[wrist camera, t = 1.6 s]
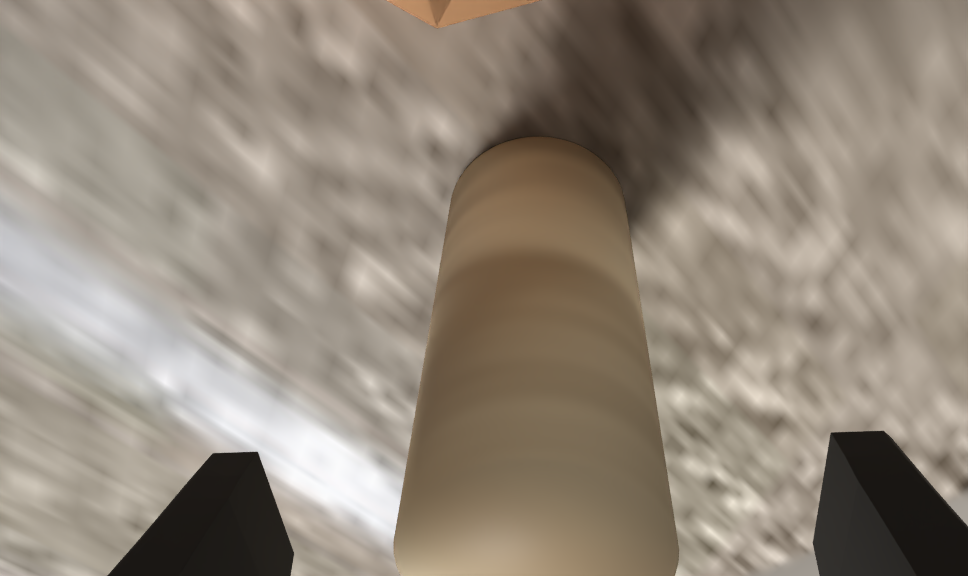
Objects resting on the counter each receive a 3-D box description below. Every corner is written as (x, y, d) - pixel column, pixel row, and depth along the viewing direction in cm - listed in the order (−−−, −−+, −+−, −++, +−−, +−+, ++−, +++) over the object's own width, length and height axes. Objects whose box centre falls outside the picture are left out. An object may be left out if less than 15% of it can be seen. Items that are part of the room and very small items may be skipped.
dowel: (565, 313, 18) (579, 670, 12) (420, 242, 18) (348, 584, 11) (660, 189, 17) (739, 529, 10) (504, 104, 16) (478, 414, 9)
